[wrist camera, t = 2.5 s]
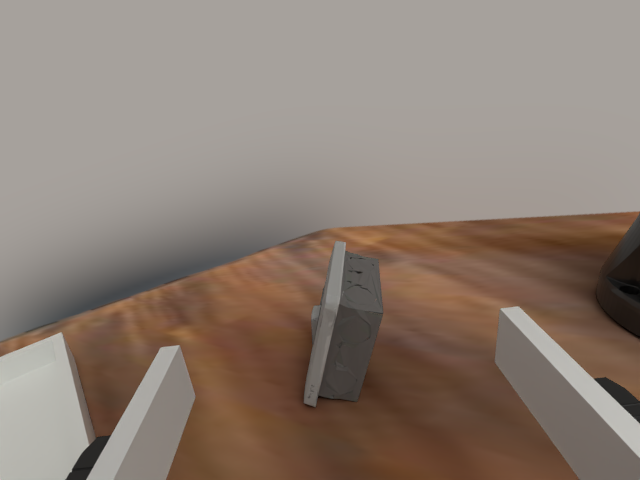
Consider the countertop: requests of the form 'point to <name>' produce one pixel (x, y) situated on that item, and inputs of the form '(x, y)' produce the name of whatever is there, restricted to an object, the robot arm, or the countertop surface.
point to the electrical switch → (344, 327)
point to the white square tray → (42, 412)
